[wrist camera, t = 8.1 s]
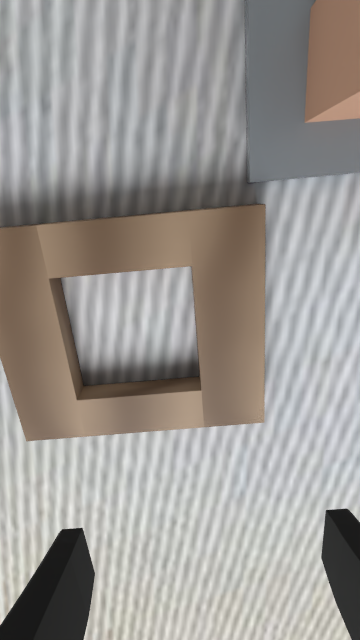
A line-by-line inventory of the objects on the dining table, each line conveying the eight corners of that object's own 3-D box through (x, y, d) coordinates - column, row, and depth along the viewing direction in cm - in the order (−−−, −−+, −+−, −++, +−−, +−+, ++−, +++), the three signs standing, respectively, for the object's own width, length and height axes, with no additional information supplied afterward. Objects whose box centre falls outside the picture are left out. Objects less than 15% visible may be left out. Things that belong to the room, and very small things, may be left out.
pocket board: (257, 203, 16) (265, 204, 15) (258, 407, 21) (264, 422, 19) (-21, 229, 17) (-39, 232, 15) (36, 424, 21) (26, 441, 19)
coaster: (479, -93, 13) (493, -107, 12) (435, 165, 16) (444, 164, 15) (244, -68, 13) (247, -80, 12) (247, 183, 16) (249, 182, 15)
